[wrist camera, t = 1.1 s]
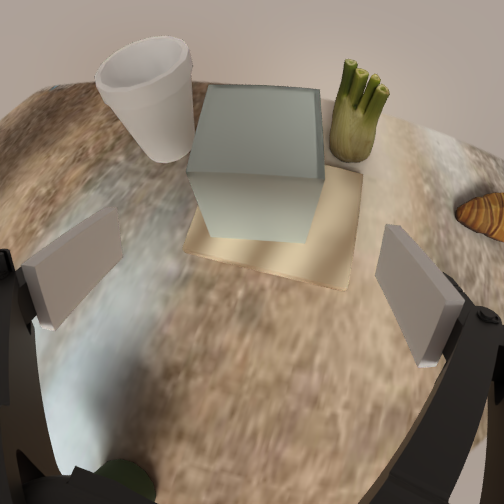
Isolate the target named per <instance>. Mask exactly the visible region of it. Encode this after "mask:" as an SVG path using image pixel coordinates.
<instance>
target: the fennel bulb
mask: <svg viewBox="0 0 504 504" xmlns="http://www.w3.org/2000/svg"><path fill="white" fill-rule="evenodd" d="M357 66H358V64H357V62H356V61H355V60H351V59H346V60H345V62H344V69H343V74H342V81H341V84H340V88H339V91H338V94H337V97H336V100H335V105H334V110H333V115H332V125H331V130H330V150H331V152H332V153H333V155H334V156H335V157H337V158H338V159H339V160H341V161H344V162H348V163H349V162H361V161H363V160H365V159H367V158H368V156H369V155H370V153H371V150H372V147H373V143H374V139H375V134H376V126H377V122H378V119H379V116H380V114H381V112H382V109H383V107H384V104H385V103H386V100H387V98H388V96H389V95H390V93H389V90H388V88H387V87H386V86H385V85H383V84H381V85H379V84H380V81H381V79H380V78H379V76H378V75H377V74H374V75H372V76H371V78H370V80H369V82H368V84H367V87H366V83H367V80H368V76H369V73H368V72H367V71H366V70H363V69H361V68H357ZM365 87H366V89H365ZM364 89H365V92H364ZM363 93H364V94H363Z"/></svg>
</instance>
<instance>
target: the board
mask: <svg viewBox="0 0 504 504" xmlns="http://www.w3.org/2000/svg"><path fill="white" fill-rule="evenodd" d="M362 182H363V174H360V173H356V172H352V171H348V170H344V169H340V168H336V167H332V166H328V165H325V181H324V184H323V188H322V191H321V194H320V198H319V201H318V204H317V207H316V211H315V214H314V217H313V220H312V223H311V227H310V230H309V233H308V236H307V239H306V242H305V244H304V243H290V242H276V241H262V240H247V239H232V238H217V237H210V234H209V231H208V229H207V226H206V224H205V221H204V218H203V216H202V213H201V211H200V208H199V205H198V207H197V210H196V212H195V215H194V218H193V220H192V223H191V226H190V228H189V231H188V234H187V237H186V239H185V242H184V245H183V248H182V249H183V250H184V252H185V253H188V254H192V255H196V256H200V257H204V258H208V259H212V260H216V261H220V262H224V263H228V264H232V265H236V266H240V267H244V268H248V269H252V270H256V271H260V272H264V273H268V274H273V275H277V276H281V277H285V278H289V279H293V280H297V281H302V282H306V283H310V284H314V285H318V286H323V287H327V288H331V289H335V290H340V291H344V292H345V291H346V290H347V289H348V283H349V278H350V272H351V266H352V259H353V253H354V246H355V240H356V232H357V225H358V217H359V209H360V201H361V191H362Z"/></svg>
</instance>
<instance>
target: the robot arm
mask: <svg viewBox="0 0 504 504" xmlns="http://www.w3.org/2000/svg"><path fill="white" fill-rule="evenodd" d="M122 258H123V251H122V244H121V236H120V227H119V218H118V208H117V207H104V208H103V209H101V210H100V211H98V212H96V213H95V214H93V215H92V216H90V217H89V218H87V219H85V220H84V221H82V222H81V223H79V224H78V225H76V226H75V227H73V228H72V229H70V230H69V231H67V232H66V233H64V234H63V235H61V236H60V237H59V238H57V239H56V240H54V241H53V242H51V243H50V244H49V245H47V246H46V247H44V248H43V249H42V250H40V251H39V252H37V253H36V254H35V255H33V256H32V257H31V258H29V259H28V260H27V261H25V262H24V263H23V264H21V267H20V268H19V269H18V270H16V271H15V269H14V265H13V261H12V257H11V254H10V250H8V249H0V504H157V503H155V502H153V501H151V500H149V499H147V498H145V497H144V496H142V495H140V494H138V493H136V492H134V491H133V490H131V489H129V488H127V487H126V486H124V485H122V484H121V483H119V482H117V481H115V480H112V479H109V478H106V477H103V476H101V475H98V474H95V473H92V472H90V471H87V470H84V469H82V468H79V467H77V466H75V468H74V470H73V472H72V474H71V475H62V474H61V472H60V471H59V469H58V466H57V464H56V461H55V457H54V453H53V449H52V445H51V441H50V437H49V432H48V428H47V423H46V418H45V413H44V407H43V402H42V396H41V389H40V382H39V374H38V366H37V356H36V344H35V329H34V326H33V323H32V321H31V320H32V319H33V318H34V317H35V316H36V315H37V318H38V320H39V323H40V326H41V328H44V329H48V330H51V331H56V330H57V329H58V327H59V326H60V325H61V324H62V323H63V322H64V320H65V319H66V318H67V317H68V316H69V315H70V314H71V312H72V311H73V310H74V309H75V308H76V307H77V306H78V305H79V304H80V302H81V301H82V300H83V299H84V298H85V297H86V296H87V295H88V294H89V293H90V291H91V290H92V289H93V288H94V287H95V286H96V285H97V284H98V283H99V282H100V281H101V280H102V279H103V277H104V276H105V275H106V274H107V273H108V272H109V271H110V270H111V269H112V268H113V267H114V266H115V265H116V264H117V263H118V262H119V261H120V260H121V259H122ZM375 277H376V279H377V281H378V283H379V284H380V286H381V288H382V290H383V292H384V295H385V297H386V299H387V301H388V303H389V305H390V307H391V309H392V311H393V313H394V315H395V317H396V319H397V322H398V324H399V326H400V328H401V330H402V333H403V335H404V337H405V339H406V341H407V344H408V346H409V348H410V351H411V353H412V355H413V357H414V360H415V362H416V365H417V367H418V368H422V367H436V365H437V363H438V361H439V359H440V357H441V355H442V353H443V355H444V357H445V359H446V363H445V365H444V367H443V369H442V371H441V372H440V374H439V376H438V378H437V380H436V382H435V383H434V384H435V385H434V387H433V389H432V391H431V393H430V395H429V397H428V399H427V401H426V402H425V404H424V406H423V408H422V410H421V412H420V413H419V415H418V417H417V419H416V420H415V422H414V424H413V425H412V427H411V429H410V431H409V432H408V434H407V435H406V437H405V439H404V440H403V442H402V443H401V445H400V447H399V448H398V450H397V451H396V453H395V454H394V456H393V457H392V459H391V460H390V462H389V463H388V464H387V466H386V467H385V469H384V470H383V471H382V473H381V474H380V476H379V477H378V478H377V480H376V481H375V482H374V484H373V485H372V486H371V488H370V489H369V490H368V492H367V493H366V494H365V495H364V497H363V498H362V499H361V500H360V502H359V503H358V504H449V503H448V500H449V497H450V495H451V493H452V491H453V489H454V487H455V484H456V482H457V480H458V478H459V476H460V473H461V471H462V469H463V466H464V464H465V461H466V459H467V457H468V454H469V451H470V449H471V446H472V443H473V441H474V438H475V435H476V432H477V429H478V426H479V423H480V420H481V417H482V413H483V410H484V407H485V403H486V400H487V396H488V428H487V448H486V461H485V470H484V471H485V472H484V479H483V487H482V493H481V499H480V504H504V325H502V322H501V319H500V317H499V316H498V315H497V314H496V313H495V312H494V311H492V310H490V309H488V308H486V307H483V306H475V305H474V304H473V302H472V301H471V300H470V299H469V297H468V296H467V295H466V294H465V293H464V292H463V290H462V289H461V288H460V287H458V284H457V283H456V282H455V281H454V279H453V278H451V277H450V276H448V275H447V274H446V273H444V272H441V270H440V269H439V268H438V267H437V266H436V265H435V263H434V262H433V261H432V260H431V259H430V258H429V257H428V256H427V254H426V253H425V252H424V251H423V250H422V249H421V248H420V247H419V245H418V244H417V243H416V242H415V241H414V240H413V239H412V238H411V237H410V236H409V235H408V234H407V233H406V231H405V230H404V229H403V228H402V227H401V226H399V225H390V224H386V225H385V230H384V236H383V241H382V246H381V250H380V255H379V260H378V264H377V269H376V273H375Z"/></svg>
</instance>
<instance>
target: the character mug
mask: <svg viewBox="0 0 504 504" xmlns="http://www.w3.org/2000/svg"><path fill="white" fill-rule="evenodd" d="M95 474H98V475H101V476H103V477H106V478H109V479H112V480H115V481H117V482H119V483H121V484H122V485H124V486H126V487H127V488H129V489H131V490H133V491H134V492H136V493H138V494H140V495H142V496H144V497H145V498H147V499H149V500H151V501H153V502H154V501H155V497H156V493H155V489H154V485H153V482H152V481H151V479H150V478H149V476H148V475H147V473H146V472H145V471H144V470H142V469H141V468H140V467H139V466H137V465H136V464H135V463H133V462H129V461H126V460H122V459H118V460H112V461H108V462H107V463H105V464H104V465H103V466H102V467H100V468H99V469H98V470H97V471H96V472H95Z"/></svg>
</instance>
